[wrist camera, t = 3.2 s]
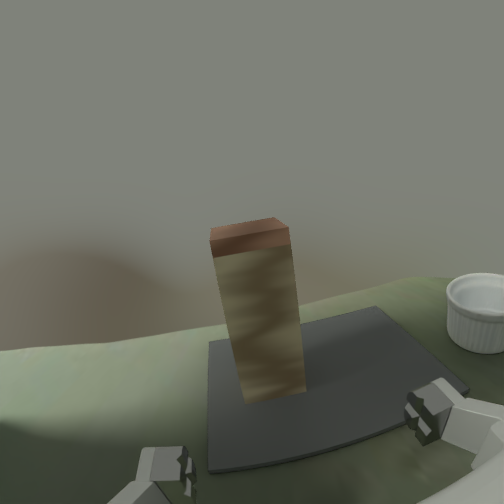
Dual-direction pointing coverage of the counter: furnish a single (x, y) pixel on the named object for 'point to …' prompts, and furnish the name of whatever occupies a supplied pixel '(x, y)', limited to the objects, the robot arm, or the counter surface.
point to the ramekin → (477, 312)
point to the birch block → (260, 307)
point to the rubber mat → (320, 393)
